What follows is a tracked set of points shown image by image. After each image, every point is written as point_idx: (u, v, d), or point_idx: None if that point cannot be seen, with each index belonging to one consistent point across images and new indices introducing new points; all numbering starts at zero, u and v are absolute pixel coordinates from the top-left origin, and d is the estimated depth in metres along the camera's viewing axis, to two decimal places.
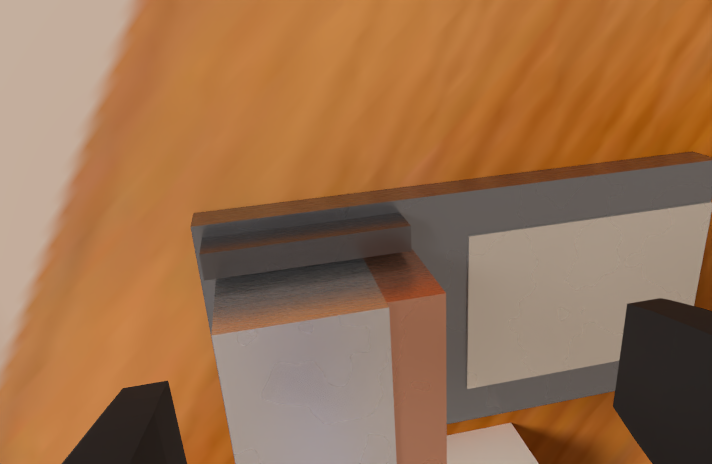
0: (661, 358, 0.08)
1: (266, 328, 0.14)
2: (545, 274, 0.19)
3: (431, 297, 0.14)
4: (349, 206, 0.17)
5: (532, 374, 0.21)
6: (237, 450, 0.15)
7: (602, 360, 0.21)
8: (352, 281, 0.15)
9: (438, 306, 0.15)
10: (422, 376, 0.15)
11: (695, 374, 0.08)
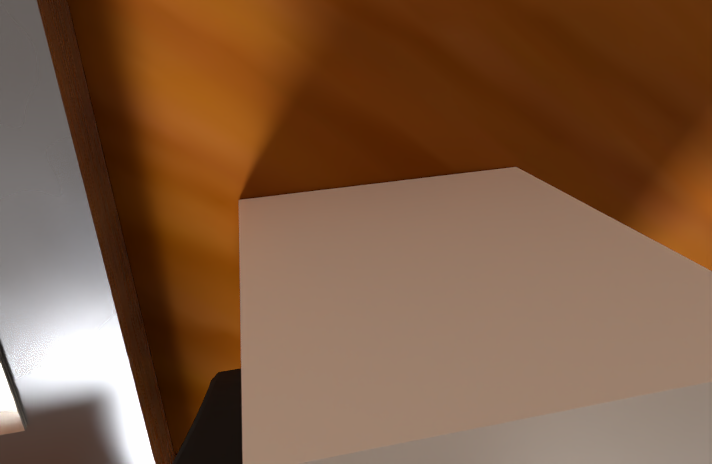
0: None
1: None
2: None
3: None
4: None
5: None
6: None
7: None
8: None
9: None
10: None
11: None
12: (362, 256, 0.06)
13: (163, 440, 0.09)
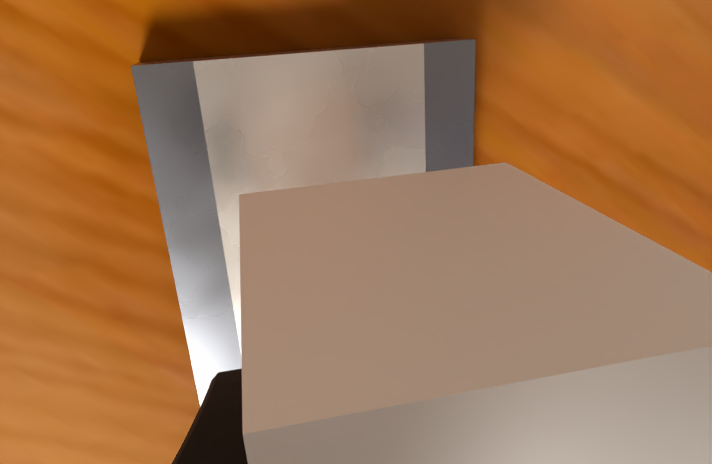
0: None
1: None
2: None
3: None
4: None
5: None
6: None
7: None
8: None
9: None
10: None
11: None
12: (356, 245, 0.07)
13: None
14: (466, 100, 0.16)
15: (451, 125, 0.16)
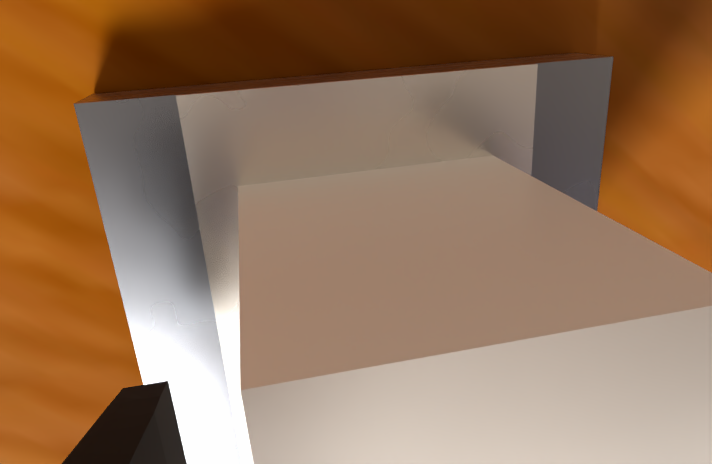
0: None
1: None
2: None
3: None
4: None
5: None
6: None
7: None
8: None
9: None
10: None
11: None
12: (347, 230, 0.07)
13: None
14: (592, 148, 0.10)
15: (567, 184, 0.11)
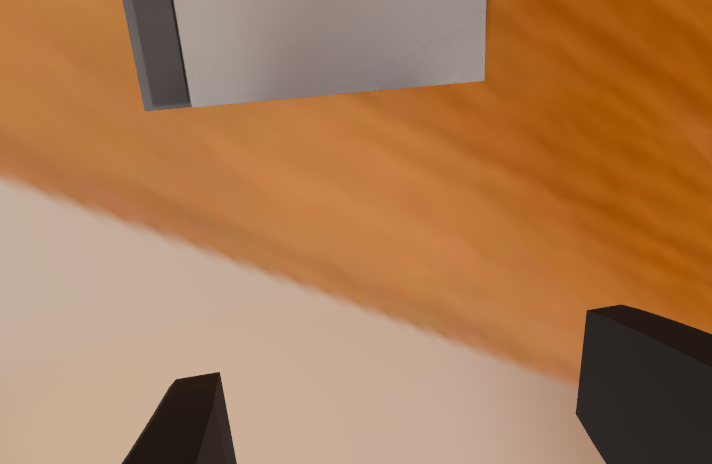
0: (618, 366, 0.08)
1: (181, 34, 0.10)
2: None
3: None
4: None
5: None
6: (370, 85, 0.11)
7: None
8: None
9: None
10: None
11: (649, 383, 0.07)
12: None
13: None
14: None
15: None
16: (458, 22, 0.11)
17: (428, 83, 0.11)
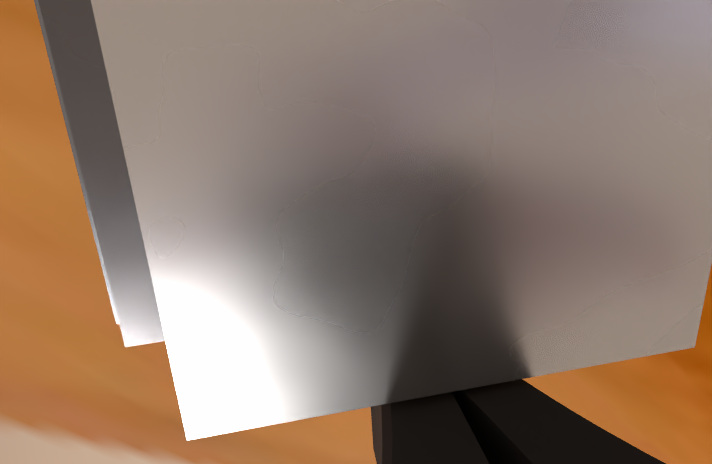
0: None
1: (167, 329, 0.05)
2: None
3: None
4: (38, 16, 0.07)
5: None
6: (507, 374, 0.06)
7: None
8: None
9: None
10: None
11: None
12: None
13: None
14: None
15: None
16: (666, 266, 0.06)
17: (604, 361, 0.06)
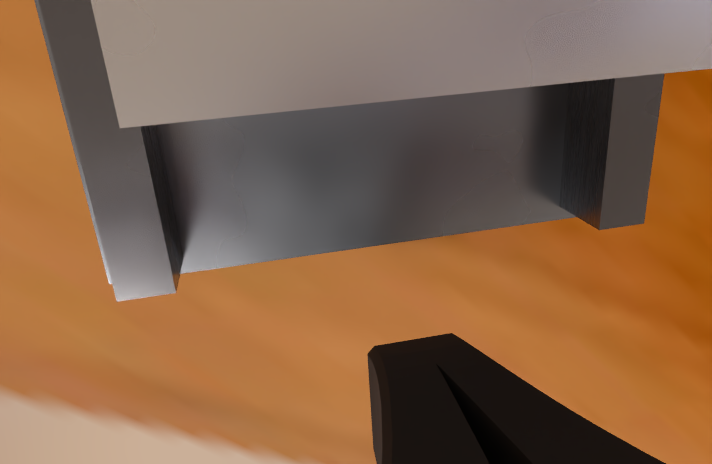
0: None
1: None
2: None
3: None
4: None
5: None
6: (521, 75, 0.05)
7: None
8: None
9: None
10: None
11: None
12: None
13: None
14: None
15: None
16: None
17: (639, 70, 0.05)
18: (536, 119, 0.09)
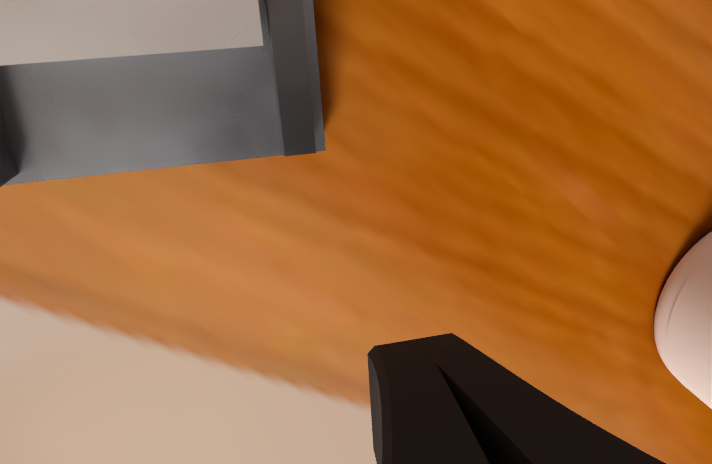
0: None
1: None
2: None
3: None
4: None
5: None
6: (127, 49, 0.10)
7: None
8: None
9: None
10: None
11: None
12: None
13: None
14: None
15: None
16: None
17: (196, 48, 0.10)
18: (253, 86, 0.14)
